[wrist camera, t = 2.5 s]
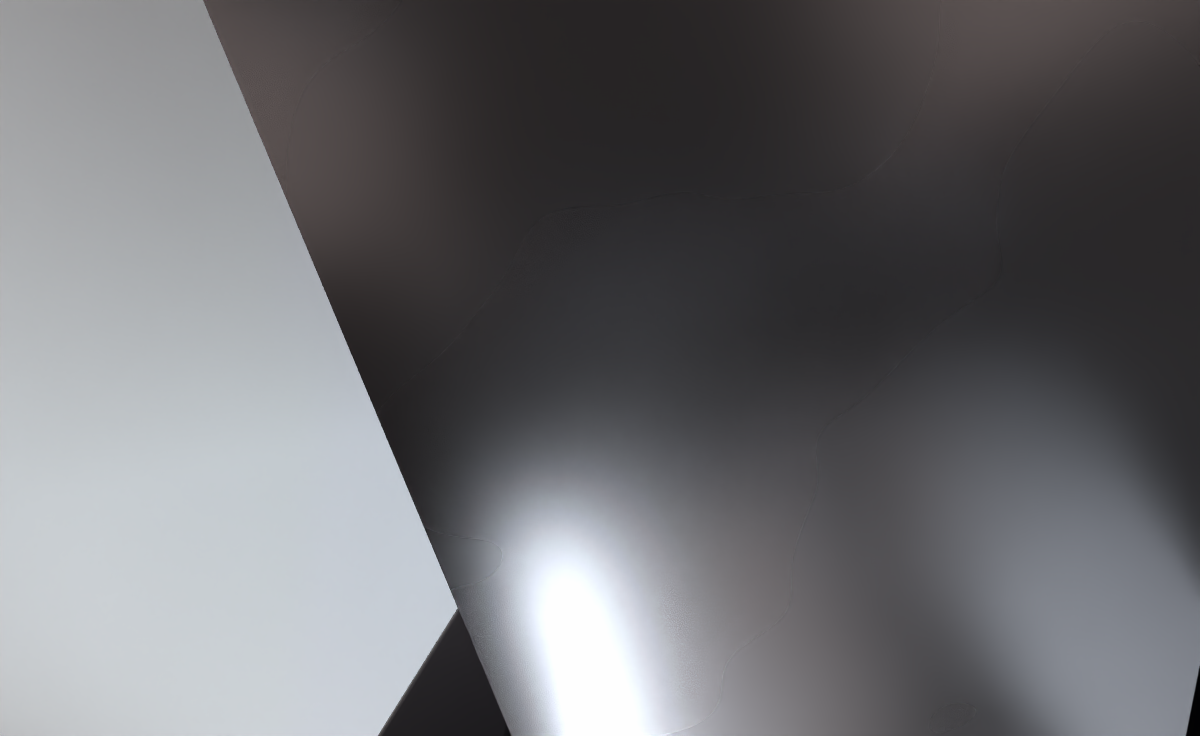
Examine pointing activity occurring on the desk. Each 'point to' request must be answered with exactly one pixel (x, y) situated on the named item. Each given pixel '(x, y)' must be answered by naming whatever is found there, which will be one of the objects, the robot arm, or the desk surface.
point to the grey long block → (773, 345)
